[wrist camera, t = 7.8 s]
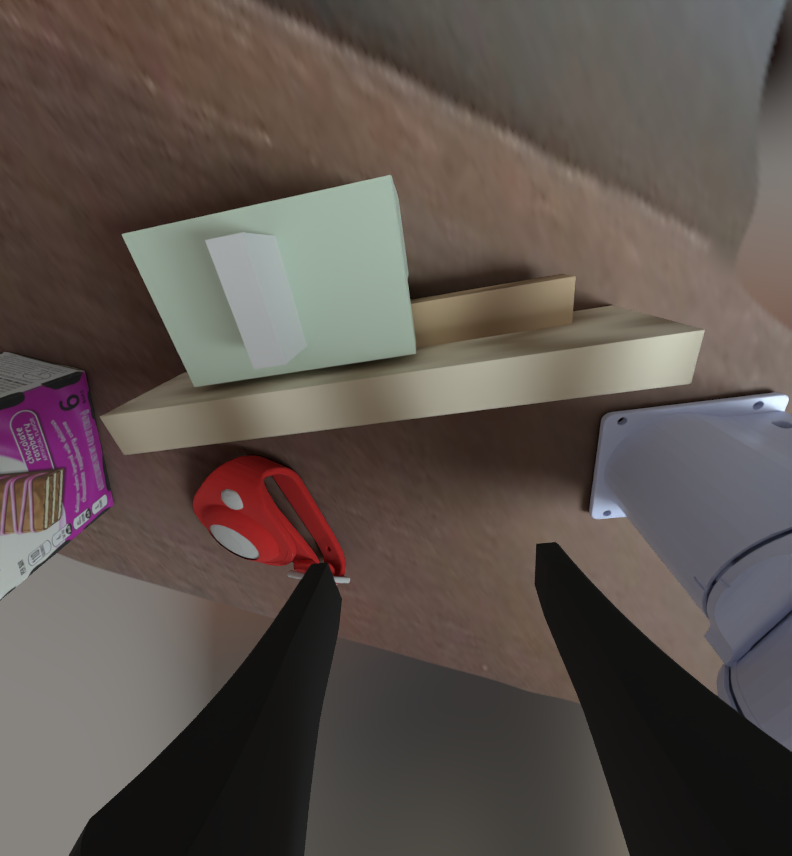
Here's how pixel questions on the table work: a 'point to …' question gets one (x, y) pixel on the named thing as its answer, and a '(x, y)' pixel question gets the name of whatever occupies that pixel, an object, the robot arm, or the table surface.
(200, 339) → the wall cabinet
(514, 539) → the table surface
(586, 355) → the wall board
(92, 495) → the candy bar box
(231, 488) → the tracker holder
